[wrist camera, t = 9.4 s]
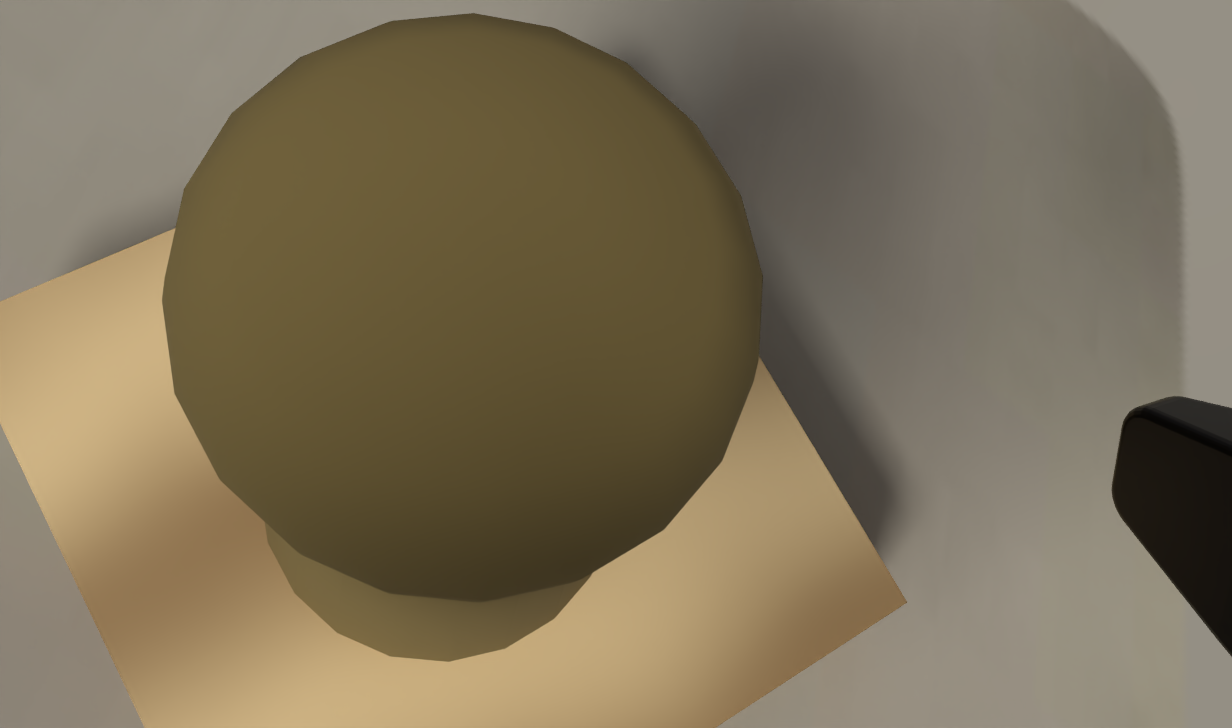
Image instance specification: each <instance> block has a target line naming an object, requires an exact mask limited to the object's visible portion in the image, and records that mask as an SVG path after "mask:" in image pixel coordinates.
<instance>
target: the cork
mask: <svg viewBox="0 0 1232 728" xmlns="http://www.w3.org/2000/svg"><path fill="white" fill-rule="evenodd" d="M762 283H763V275H762V271H761V268H760V264H759V260H758V257H757V253H756V249H755V246H754V242H753V238H752V235H751V231H750V227H749V224H748V220H747V216H746V212H745V209H744V205H743V201H742V198H741V195H740V193H739V192H738V190H737V189H736V187H735V186H734V184H733V182H732V181H731V179H730V178H729V176H728V174H727V173H726V171H725V170H724V168H723V167H722V165H721V163H720V162H719V160H718V159H717V157H716V156H715V154H714V152H713V151H712V149H711V148H710V146H709V144H708V143H707V141H706V140H705V138H704V137H703V135H702V133H701V132H700V130H699V129H698V127H697V125H696V124H695V123H694V122H693V121H691V120H690V119H689V118H688V117H687V116H686V115H685V114H684V113H683V112H682V111H681V110H679V109H678V108H677V107H676V106H675V105H674V104H673V103H671V102H670V101H669V100H668V99H667V98H666V97H665V96H664V95H662V94H661V93H660V92H659V91H658V90H657V89H656V88H654V87H653V86H652V85H651V84H650V83H649V82H648V81H647V80H645V79H644V78H643V77H642V76H641V75H640V74H639V73H637V72H636V71H635V70H634V69H633V68H632V67H631V66H629V65H628V64H627V63H626V62H624V61H622V60H620V59H617V58H615V57H613V56H611V55H609V54H607V53H605V52H603V51H601V50H599V49H597V48H595V47H593V46H590V45H588V44H586V43H584V42H582V41H580V40H578V39H576V38H574V37H572V36H570V35H568V34H566V33H564V32H561V31H559V30H557V29H555V28H552V27H547V26H541V25H535V24H530V23H524V22H519V21H513V20H508V19H502V18H497V17H491V16H486V15H480V14H475V13H471V14H461V15H450V16H440V17H429V18H419V19H408V20H397V21H391V22H388V23H385V24H382V25H380V26H377V27H375V28H372V29H370V30H367V31H365V32H362V33H360V34H357V35H355V36H352V37H350V38H347V39H345V40H342V41H340V42H337V43H335V44H332V45H330V46H327V47H325V48H322V49H320V50H317V51H315V52H312V53H310V54H307V55H305V56H302V57H300V58H299V59H298V60H296V61H295V62H294V63H293V64H291V65H290V66H289V67H288V68H287V69H285V70H284V71H283V72H282V73H280V74H279V75H278V76H277V77H275V78H274V79H273V80H272V81H271V82H269V83H268V84H267V85H266V86H264V87H263V88H262V89H261V90H260V91H258V92H257V93H256V94H255V95H253V96H252V97H251V98H250V99H249V100H247V101H246V102H245V103H244V104H242V105H241V106H240V107H239V108H238V109H236V110H235V111H234V112H233V113H232V114H231V115H230V117H229V118H228V120H227V122H226V123H225V125H224V126H223V128H222V130H221V131H220V133H219V134H218V136H217V137H216V139H215V141H214V142H213V144H212V145H211V147H210V149H209V150H208V152H207V153H206V155H205V157H204V158H203V160H202V161H201V163H200V165H199V166H198V168H197V169H196V171H195V173H194V174H193V176H192V177H191V179H190V180H189V182H188V184H187V185H186V187H185V188H184V192H183V197H182V201H181V206H180V210H179V215H178V219H177V224H176V228H175V233H174V237H173V242H172V246H171V251H170V256H169V260H168V265H167V269H166V274H165V278H164V287H163V295H162V305H163V313H164V320H165V328H166V335H167V342H168V350H169V357H170V365H171V372H172V379H173V387H174V394H175V396H176V398H177V400H178V401H179V403H180V405H181V407H182V409H183V411H184V413H185V415H186V417H187V419H188V420H189V422H190V424H191V426H192V428H193V430H194V432H195V434H196V436H197V438H198V440H199V441H200V443H201V445H202V447H203V449H204V451H205V453H206V455H207V457H208V459H209V461H210V462H211V464H212V466H213V468H214V470H215V472H216V474H217V476H218V478H219V480H220V481H221V482H222V483H224V484H225V485H226V486H227V487H228V488H229V489H230V490H231V491H232V492H233V493H234V494H235V495H236V496H238V497H239V498H240V499H241V500H242V501H243V502H244V503H245V504H246V505H247V506H248V507H249V508H250V509H252V510H253V511H254V512H255V513H256V514H257V515H258V516H259V517H260V518H261V519H262V520H263V521H264V522H265V528H266V535H267V541H268V544H269V546H270V548H271V550H272V552H273V554H274V555H275V557H276V559H277V561H278V563H279V565H280V567H281V569H282V571H283V572H284V574H285V576H286V578H287V580H288V582H289V584H290V586H291V588H292V590H293V591H294V593H295V594H296V595H297V596H298V597H299V598H300V599H301V600H302V601H303V602H304V603H305V604H306V605H308V606H309V607H310V608H311V609H312V610H313V611H314V612H315V613H316V614H317V615H318V616H319V617H320V618H322V619H323V620H324V621H325V622H326V623H327V624H328V625H329V626H330V627H331V628H332V629H333V630H334V631H335V632H337V633H338V634H341V635H343V636H345V637H347V638H350V639H352V640H354V641H356V642H359V643H361V644H363V645H365V646H368V647H370V648H372V649H374V650H377V651H379V652H381V653H383V654H386V655H388V656H390V657H401V658H412V659H423V660H434V661H445V662H450V661H454V660H459V659H463V658H467V657H472V656H476V655H480V654H484V653H489V652H493V651H497V650H502V649H505V648H507V647H509V646H510V645H512V644H514V643H515V642H517V641H519V640H520V639H522V638H524V637H525V636H527V635H529V634H530V633H532V632H533V631H535V630H537V629H538V628H540V627H542V626H543V625H545V624H547V623H548V622H550V621H552V620H553V619H555V617H556V616H557V615H558V614H559V613H560V612H561V610H562V609H563V608H564V607H565V606H566V605H567V604H568V602H569V601H570V600H571V599H572V598H573V597H574V595H575V594H576V593H577V592H578V591H579V590H580V588H581V587H582V586H583V585H584V584H585V583H586V581H587V580H588V579H589V578H590V577H591V575H592V573H593V572H595V571H596V570H598V569H600V568H601V567H603V566H605V565H606V564H608V563H610V562H611V561H613V560H615V559H616V558H618V557H620V556H621V555H623V554H625V553H626V552H628V551H630V550H631V549H633V548H635V547H636V546H638V545H640V544H641V543H643V542H645V541H646V540H648V539H650V538H651V537H653V536H655V535H656V534H658V533H660V532H661V531H663V530H664V529H665V528H666V527H667V526H668V524H669V523H670V522H671V521H672V520H673V519H674V517H675V516H676V515H677V514H678V513H679V512H680V510H681V509H682V508H683V507H684V506H685V504H686V503H687V502H688V501H689V500H690V499H691V497H692V496H693V495H694V494H695V493H696V492H697V490H698V489H699V488H700V487H701V486H702V484H703V483H704V482H705V481H706V480H707V479H708V477H709V476H710V475H711V474H712V473H713V472H714V470H715V469H716V468H717V467H718V466H719V464H720V463H721V462H722V460H723V458H724V455H725V453H726V450H727V448H728V445H729V443H730V440H731V438H732V435H733V433H734V430H735V427H736V425H737V422H738V420H739V417H740V415H741V412H742V410H743V407H744V405H745V402H746V400H747V397H748V394H749V392H750V389H751V387H752V384H753V382H754V378H755V374H756V369H757V365H758V361H759V342H760V322H761V302H762Z"/></svg>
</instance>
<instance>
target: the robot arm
mask: <svg viewBox="0 0 1232 728" xmlns="http://www.w3.org/2000/svg"><path fill="white" fill-rule="evenodd" d="M1112 497H1113V501H1114V504H1115V507H1116V509H1117V511H1118V513H1119V515H1120V517H1121V518H1122V519H1123V521H1124V522H1125V523H1126V525H1127V526H1128V527H1129V528H1130V530H1131V531H1132V532H1133V533H1134V535H1135V536H1136V537H1137V539H1138V540H1139V541H1140V542H1141V544H1142V545H1143V546H1144V547H1145V549H1146V550H1147V551H1148V552H1149V554H1150V555H1151V556H1152V557H1153V559H1154V560H1155V561H1156V563H1157V564H1158V565H1159V566H1160V568H1161V569H1162V570H1163V571H1164V573H1165V574H1166V575H1167V576H1168V578H1169V579H1170V580H1171V581H1172V583H1173V584H1174V585H1175V587H1176V588H1177V589H1178V590H1179V592H1180V593H1181V594H1182V595H1183V597H1184V598H1185V599H1186V600H1187V602H1188V603H1189V604H1190V605H1191V607H1192V608H1193V609H1194V610H1195V612H1196V613H1197V614H1198V616H1199V617H1200V618H1201V619H1202V620H1203V622H1204V623H1205V624H1206V626H1207V627H1208V628H1209V629H1210V630H1211V632H1212V633H1213V634H1214V635H1215V637H1216V638H1217V639H1218V641H1219V642H1220V643H1221V644H1222V646H1223V647H1224V648H1225V649H1226V650H1227V652H1228V653H1229V654H1230V655H1231V656H1232V408H1229V407H1224V406H1220V405H1216V404H1211V403H1207V402H1203V401H1198V400H1194V399H1190V398H1186V397H1180V396H1173V397H1167V398H1163V399H1160V400H1157V401H1154V402H1151V403H1148V404H1145V405H1142V406H1139V407H1136V408H1134V409H1133V410H1131V411H1130V412H1129V413H1128V415H1127V416H1126V417H1125V419H1124V421H1123V425H1122V429H1121V435H1120V441H1119V447H1118V453H1117V458H1116V464H1115V470H1114V476H1113V482H1112Z"/></svg>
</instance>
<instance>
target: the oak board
mask: <svg viewBox="0 0 1232 728" xmlns="http://www.w3.org/2000/svg"><path fill="white" fill-rule="evenodd" d="M174 233H175V228H174V229H172V230H170V231H167V232H165V233H162V234H160V235H158V236H155V237H153V238H151V239H148V240H146V241H143V242H141V243H139V244H136V245H134V246H132V247H129V248H127V249H124V250H122V251H120V252H117V253H115V254H112V255H110V256H108V257H105V258H103V259H101V260H98V261H96V262H93V263H91V264H89V265H86V266H84V267H81V268H79V269H77V270H74V271H72V272H70V273H67V274H65V275H62V276H60V277H58V278H55V279H53V280H50V281H48V282H46V283H43V284H41V285H39V286H36V287H34V288H31V289H29V290H27V291H24V292H22V293H19V294H17V295H15V296H12V297H10V298H8V299H5V300H3V301H0V424H1V426H2V428H3V430H4V432H5V434H6V436H7V438H8V440H9V443H10V445H11V447H12V449H13V451H14V453H15V455H16V457H17V459H18V461H19V464H20V466H21V468H22V470H23V472H24V474H25V476H26V478H27V480H28V483H29V485H30V487H31V489H32V491H33V493H34V495H35V497H36V499H37V502H38V504H39V506H40V508H41V510H42V512H43V514H44V516H45V518H46V521H47V523H48V525H49V527H50V529H51V531H52V533H53V535H54V537H55V539H56V542H57V544H58V546H59V548H60V550H61V552H62V554H63V556H64V558H65V561H66V563H67V565H68V567H69V569H70V571H71V573H72V575H73V577H74V580H75V582H76V584H77V586H78V588H79V590H80V592H81V594H82V596H83V599H84V601H85V603H86V605H87V607H88V609H89V611H90V613H91V615H92V617H93V620H94V622H95V624H96V626H97V628H98V630H99V632H100V634H101V636H102V639H103V641H104V643H105V645H106V647H107V649H108V651H109V653H110V655H111V658H112V660H113V662H114V664H115V666H116V668H117V670H118V672H119V674H120V677H121V679H122V681H123V683H124V685H125V687H126V689H127V691H128V693H129V696H130V698H131V700H132V702H133V704H134V706H135V708H136V710H137V712H138V714H139V717H140V719H141V721H142V723H143V725H144V727H145V728H715V727H717V726H718V725H720V724H722V723H723V722H725V721H726V720H728V719H729V718H731V717H732V716H734V715H735V714H737V713H738V712H740V711H741V710H743V709H745V708H746V707H748V706H749V705H751V704H752V703H754V702H755V701H757V700H758V699H760V698H761V697H763V696H764V695H766V694H768V693H769V692H771V691H772V690H774V689H775V688H777V687H778V686H780V685H781V684H783V683H784V682H786V681H787V680H789V679H791V678H792V677H794V676H795V675H797V674H798V673H800V672H801V671H803V670H804V669H806V668H807V667H809V666H810V665H812V664H814V663H815V662H817V661H818V660H820V659H821V658H823V657H824V656H826V655H827V654H829V653H830V652H832V651H833V650H835V649H837V648H838V647H840V646H841V645H843V644H844V643H846V642H847V641H849V640H850V639H852V638H853V637H855V636H856V635H858V634H860V633H861V632H863V631H864V630H866V629H867V628H869V627H870V626H872V625H873V624H875V623H876V622H878V621H879V620H881V619H882V618H884V617H886V616H887V615H889V614H890V613H892V612H893V611H895V610H896V609H898V608H899V607H901V606H902V605H904V604H905V603H907V601H906V599H905V598H904V596H903V595H902V593H901V591H900V590H899V588H898V586H897V585H896V583H895V581H894V580H893V578H892V576H891V575H890V573H889V571H888V570H887V568H886V566H885V565H884V563H883V561H882V560H881V558H880V556H879V555H878V553H877V551H876V550H875V548H874V546H873V545H872V543H871V541H870V540H869V538H868V536H867V535H866V533H865V531H864V530H863V528H862V526H861V525H860V523H859V521H858V520H857V518H856V516H855V515H854V513H853V511H852V510H851V508H850V506H849V505H848V503H847V501H846V500H845V498H844V496H843V495H842V493H841V491H840V490H839V488H838V486H837V485H836V483H835V481H834V480H833V478H832V476H831V475H830V473H829V471H828V470H827V468H826V466H825V465H824V463H823V462H822V460H821V458H820V457H819V455H818V453H817V452H816V450H815V448H814V447H813V445H812V443H811V442H810V440H809V438H808V437H807V435H806V433H805V432H804V430H803V428H802V427H801V425H800V423H799V422H798V420H797V418H796V417H795V415H794V413H793V412H792V410H791V408H790V407H789V405H788V403H787V402H786V400H785V398H784V397H783V395H782V393H781V392H780V390H779V388H778V387H777V385H776V383H775V382H774V380H773V378H772V377H771V375H770V373H769V372H768V370H767V368H766V367H765V365H764V363H763V362H762V360H761V358H760V357H759V361H758V365H757V369H756V374H755V378H754V382H753V384H752V387H751V389H750V392H749V394H748V397H747V400H746V402H745V405H744V407H743V410H742V412H741V415H740V417H739V420H738V422H737V425H736V427H735V430H734V433H733V435H732V438H731V440H730V443H729V445H728V448H727V450H726V453H725V455H724V458H723V460H722V462H721V463H720V464H719V466H718V467H717V468H716V469H715V470H714V472H713V473H712V474H711V475H710V476H709V477H708V479H707V480H706V481H705V482H704V483H703V484H702V486H701V487H700V488H699V489H698V490H697V492H696V493H695V494H694V495H693V496H692V497H691V499H690V500H689V501H688V502H687V503H686V504H685V506H684V507H683V508H682V509H681V510H680V512H679V513H678V514H677V515H676V516H675V517H674V519H673V520H672V521H671V522H670V523H669V524H668V526H667V527H666V528H665V529H664V530H663V531H661V532H660V533H658V534H656V535H655V536H653V537H651V538H650V539H648V540H646V541H645V542H643V543H641V544H640V545H638V546H636V547H635V548H633V549H631V550H630V551H628V552H626V553H625V554H623V555H621V556H620V557H618V558H616V559H615V560H613V561H611V562H610V563H608V564H606V565H605V566H603V567H601V568H600V569H598V570H596V571H595V572H593V573H592V575H591V577H590V578H589V579H588V580H587V581H586V583H585V584H584V585H583V586H582V587H581V588H580V590H579V591H578V592H577V593H576V594H575V595H574V597H573V598H572V599H571V600H570V601H569V602H568V604H567V605H566V606H565V607H564V608H563V609H562V610H561V612H560V613H559V614H558V615H557V616H556V617H555V619H553V620H552V621H550V622H548V623H547V624H545V625H543V626H542V627H540V628H538V629H537V630H535V631H533V632H532V633H530V634H529V635H527V636H525V637H524V638H522V639H520V640H519V641H517V642H515V643H514V644H512V645H510V646H509V647H507V648H505V649H502V650H497V651H493V652H489V653H484V654H480V655H476V656H472V657H467V658H463V659H459V660H454V661H450V662H445V661H434V660H423V659H412V658H401V657H390V656H388V655H386V654H383V653H381V652H379V651H377V650H374V649H372V648H370V647H368V646H365V645H363V644H361V643H359V642H356V641H354V640H352V639H350V638H347V637H345V636H343V635H341V634H338V633H337V632H335V631H334V630H333V629H332V628H331V627H330V626H329V625H328V624H327V623H326V622H325V621H324V620H323V619H322V618H320V617H319V616H318V615H317V614H316V613H315V612H314V611H313V610H312V609H311V608H310V607H309V606H308V605H306V604H305V603H304V602H303V601H302V600H301V599H300V598H299V597H298V596H297V595H296V594H295V593H294V591H293V590H292V588H291V586H290V584H289V582H288V580H287V578H286V576H285V574H284V572H283V571H282V569H281V567H280V565H279V563H278V561H277V559H276V557H275V555H274V554H273V552H272V550H271V548H270V546H269V544H268V541H267V535H266V528H265V522H264V521H263V520H262V519H261V518H260V517H259V516H258V515H257V514H256V513H255V512H254V511H253V510H252V509H250V508H249V507H248V506H247V505H246V504H245V503H244V502H243V501H242V500H241V499H240V498H239V497H238V496H236V495H235V494H234V493H233V492H232V491H231V490H230V489H229V488H228V487H227V486H226V485H225V484H224V483H222V482H221V481H220V480H219V478H218V476H217V474H216V472H215V470H214V468H213V466H212V464H211V462H210V461H209V459H208V457H207V455H206V453H205V451H204V449H203V447H202V445H201V443H200V441H199V440H198V438H197V436H196V434H195V432H194V430H193V428H192V426H191V424H190V422H189V420H188V419H187V417H186V415H185V413H184V411H183V409H182V407H181V405H180V403H179V401H178V400H177V398H176V396H175V394H174V387H173V379H172V372H171V365H170V357H169V350H168V342H167V335H166V328H165V320H164V313H163V305H162V295H163V287H164V278H165V274H166V269H167V265H168V260H169V256H170V251H171V246H172V242H173V237H174Z"/></svg>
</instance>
